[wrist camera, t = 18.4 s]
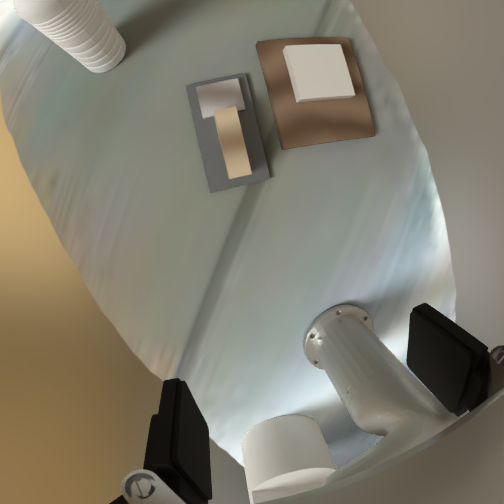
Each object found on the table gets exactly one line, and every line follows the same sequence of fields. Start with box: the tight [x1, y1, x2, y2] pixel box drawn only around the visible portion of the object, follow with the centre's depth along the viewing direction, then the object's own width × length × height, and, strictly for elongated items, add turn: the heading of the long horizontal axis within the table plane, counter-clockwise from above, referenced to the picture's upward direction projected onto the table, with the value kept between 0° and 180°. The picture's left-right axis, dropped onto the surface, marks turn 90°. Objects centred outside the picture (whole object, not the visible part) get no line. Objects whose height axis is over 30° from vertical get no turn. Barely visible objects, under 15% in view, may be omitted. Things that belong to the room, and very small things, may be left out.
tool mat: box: [186, 74, 270, 193], centre depth 35 cm, size 15×8×1 cm, turn 13°
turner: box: [196, 78, 252, 179], centre depth 33 cm, size 13×6×4 cm, turn 13°
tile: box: [283, 44, 355, 103], centre depth 32 cm, size 2×8×8 cm
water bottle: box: [13, 0, 126, 73], centre depth 18 cm, size 9×6×25 cm
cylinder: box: [241, 415, 338, 504], centre depth 39 cm, size 17×17×28 cm
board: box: [256, 38, 375, 150], centre depth 35 cm, size 16×14×2 cm
